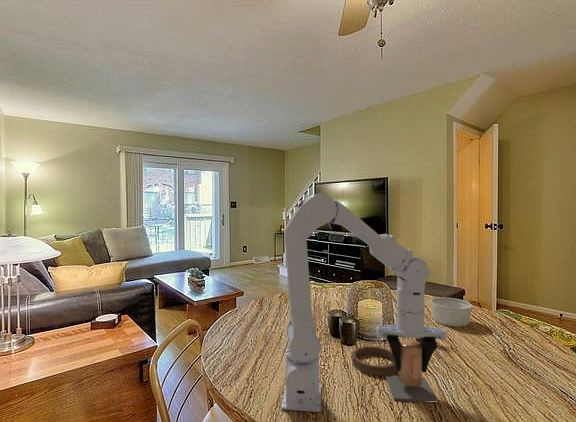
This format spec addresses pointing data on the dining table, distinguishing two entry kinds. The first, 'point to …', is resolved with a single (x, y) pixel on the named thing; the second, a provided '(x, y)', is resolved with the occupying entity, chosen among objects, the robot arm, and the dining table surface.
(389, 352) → the dark brown ring
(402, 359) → the pink rounded pillar
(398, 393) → the charcoal mat
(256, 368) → the dining table surface
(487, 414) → the dining table surface
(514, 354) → the dining table surface
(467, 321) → the ramekin
